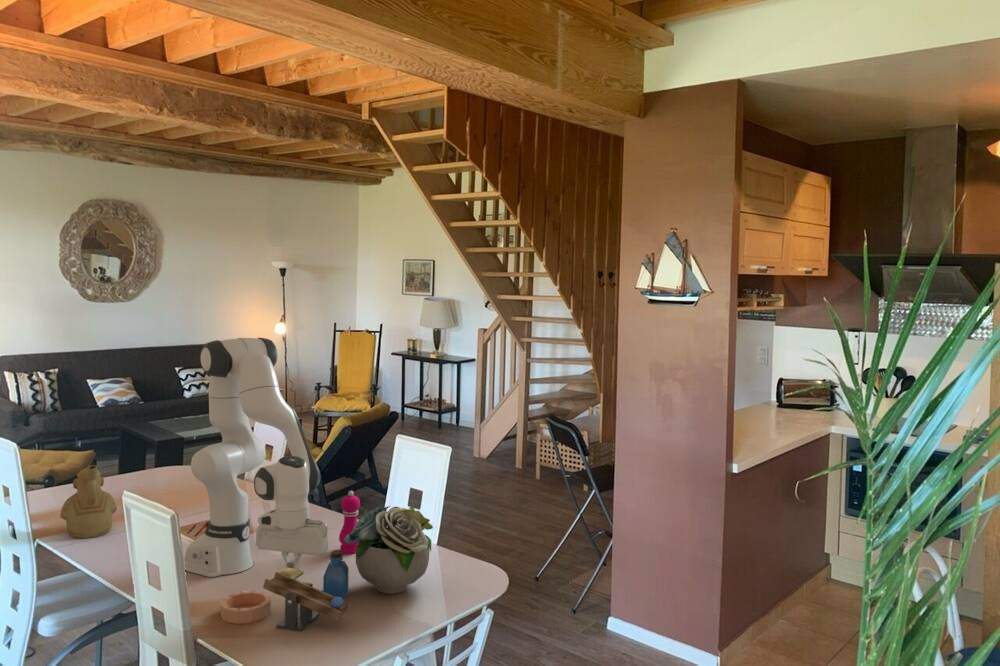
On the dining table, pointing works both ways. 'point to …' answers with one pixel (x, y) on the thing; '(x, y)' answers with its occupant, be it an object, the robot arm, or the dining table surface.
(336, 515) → the dining table surface
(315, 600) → the lever
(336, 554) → the perfume bottle
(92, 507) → the ceramic vessel
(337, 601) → the ball
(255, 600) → the orange round tray
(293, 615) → the fulcrum
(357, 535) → the flower arrangement
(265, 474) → the robot arm
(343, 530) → the pepper mill
